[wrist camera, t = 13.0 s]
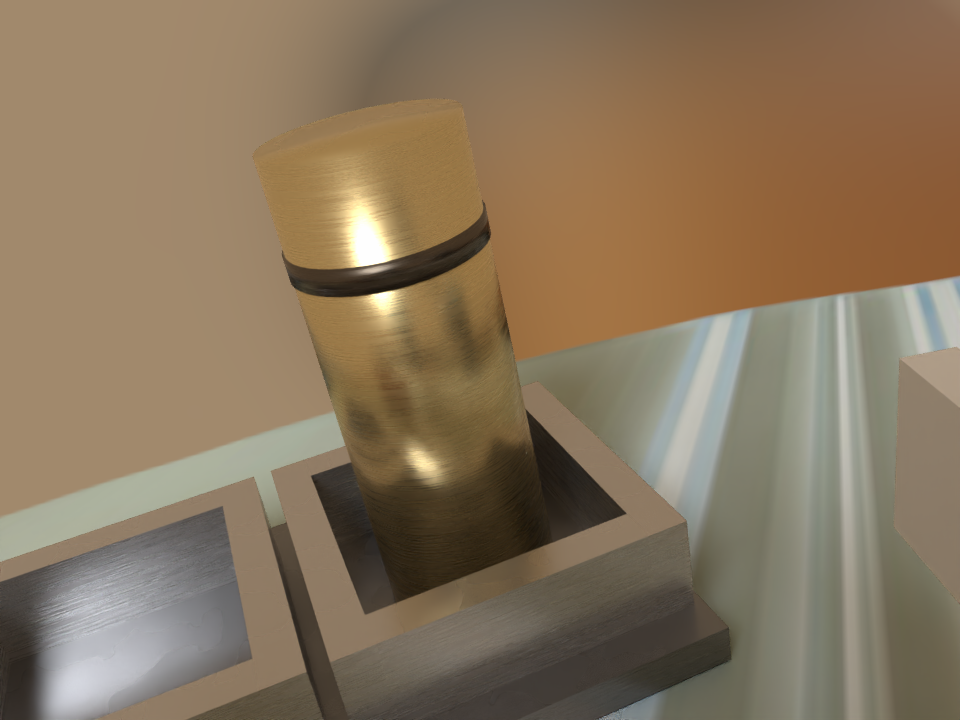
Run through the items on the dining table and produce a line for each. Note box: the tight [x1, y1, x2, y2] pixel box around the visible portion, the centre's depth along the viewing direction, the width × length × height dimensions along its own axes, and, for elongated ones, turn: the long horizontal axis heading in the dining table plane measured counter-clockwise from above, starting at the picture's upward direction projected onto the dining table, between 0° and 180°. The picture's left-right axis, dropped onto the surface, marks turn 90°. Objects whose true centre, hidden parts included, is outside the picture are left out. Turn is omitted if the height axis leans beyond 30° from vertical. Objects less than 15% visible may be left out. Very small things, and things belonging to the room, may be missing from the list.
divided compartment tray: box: [0, 381, 731, 720], centre depth 23 cm, size 18×11×4 cm, turn 110°
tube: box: [253, 99, 553, 603], centre depth 22 cm, size 5×5×12 cm
